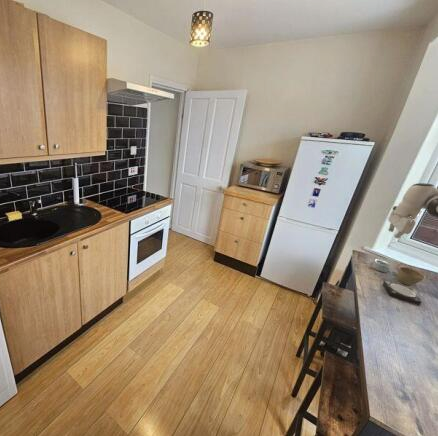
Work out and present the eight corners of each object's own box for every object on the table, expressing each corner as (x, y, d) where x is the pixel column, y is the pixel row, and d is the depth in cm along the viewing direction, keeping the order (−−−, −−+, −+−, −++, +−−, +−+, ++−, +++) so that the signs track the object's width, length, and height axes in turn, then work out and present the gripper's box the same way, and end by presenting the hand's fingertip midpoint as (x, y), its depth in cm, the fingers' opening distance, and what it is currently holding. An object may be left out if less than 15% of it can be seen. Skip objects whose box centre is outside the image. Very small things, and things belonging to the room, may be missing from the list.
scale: (409, 292, 121) (412, 288, 119) (419, 305, 112) (422, 301, 111) (382, 284, 125) (385, 279, 124) (389, 296, 116) (392, 291, 115)
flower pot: (387, 275, 134) (394, 265, 131) (407, 278, 132) (414, 268, 129) (401, 286, 125) (408, 276, 122) (422, 290, 123) (430, 279, 120)
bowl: (384, 268, 140) (388, 262, 138) (388, 274, 135) (392, 267, 133) (370, 264, 143) (373, 258, 141) (373, 269, 138) (377, 263, 136)
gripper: (423, 220, 115) (408, 243, 121) (406, 208, 132) (393, 229, 137) (407, 216, 118) (392, 239, 124) (392, 205, 134) (380, 226, 140)
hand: (393, 234), depth 131 cm, fingers open, 8 cm apart
